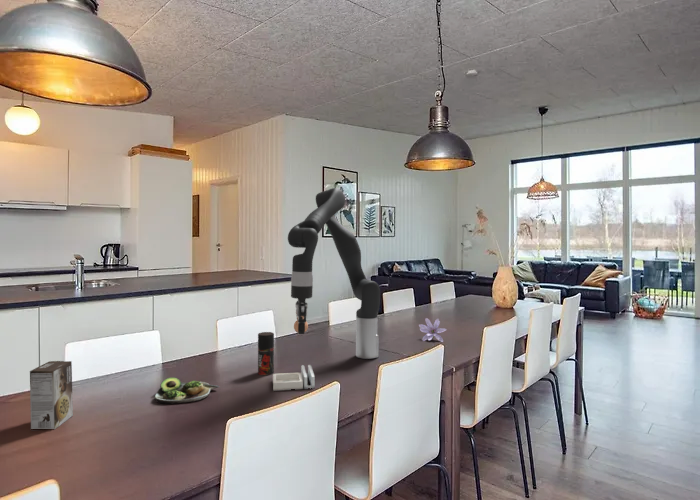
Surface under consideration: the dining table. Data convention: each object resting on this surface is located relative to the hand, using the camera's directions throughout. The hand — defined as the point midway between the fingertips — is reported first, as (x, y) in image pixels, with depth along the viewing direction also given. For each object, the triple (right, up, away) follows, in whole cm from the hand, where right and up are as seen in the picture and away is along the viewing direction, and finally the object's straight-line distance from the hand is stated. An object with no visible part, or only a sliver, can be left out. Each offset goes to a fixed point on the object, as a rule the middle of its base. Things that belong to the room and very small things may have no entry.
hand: (300, 332), depth 153 cm
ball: (0, 0, 0) cm, 0 cm away
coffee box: (-65, -19, -33) cm, 76 cm away
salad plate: (-38, -19, -11) cm, 44 cm away
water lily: (+59, -17, +66) cm, 90 cm away
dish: (-5, -18, -1) cm, 19 cm away
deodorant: (-15, -18, +12) cm, 26 cm away
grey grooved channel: (+2, -18, +2) cm, 18 cm away
